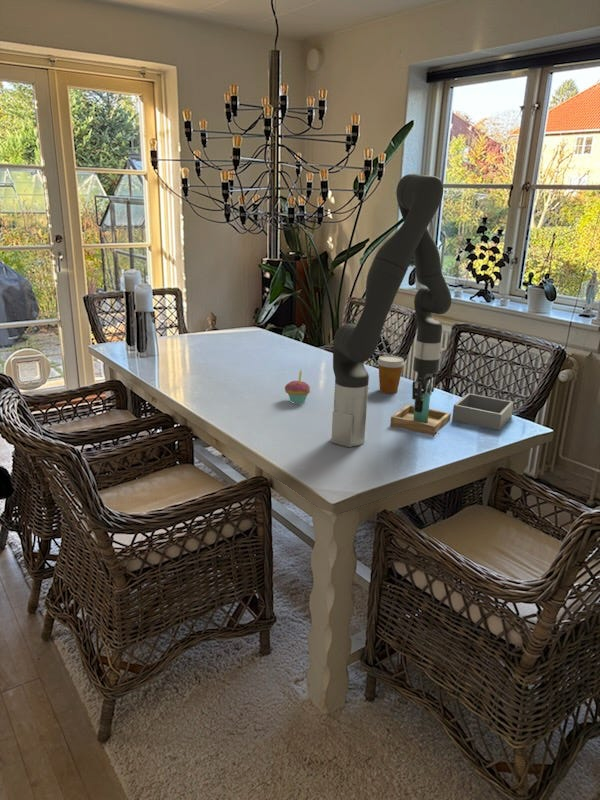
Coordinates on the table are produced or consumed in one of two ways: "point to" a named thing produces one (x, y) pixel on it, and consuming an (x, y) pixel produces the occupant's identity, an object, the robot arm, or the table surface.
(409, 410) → the tray
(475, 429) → the table surface
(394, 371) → the disposable coffee cup
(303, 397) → the cupcake
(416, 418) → the peg
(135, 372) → the table surface
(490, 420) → the deep bin
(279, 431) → the table surface
